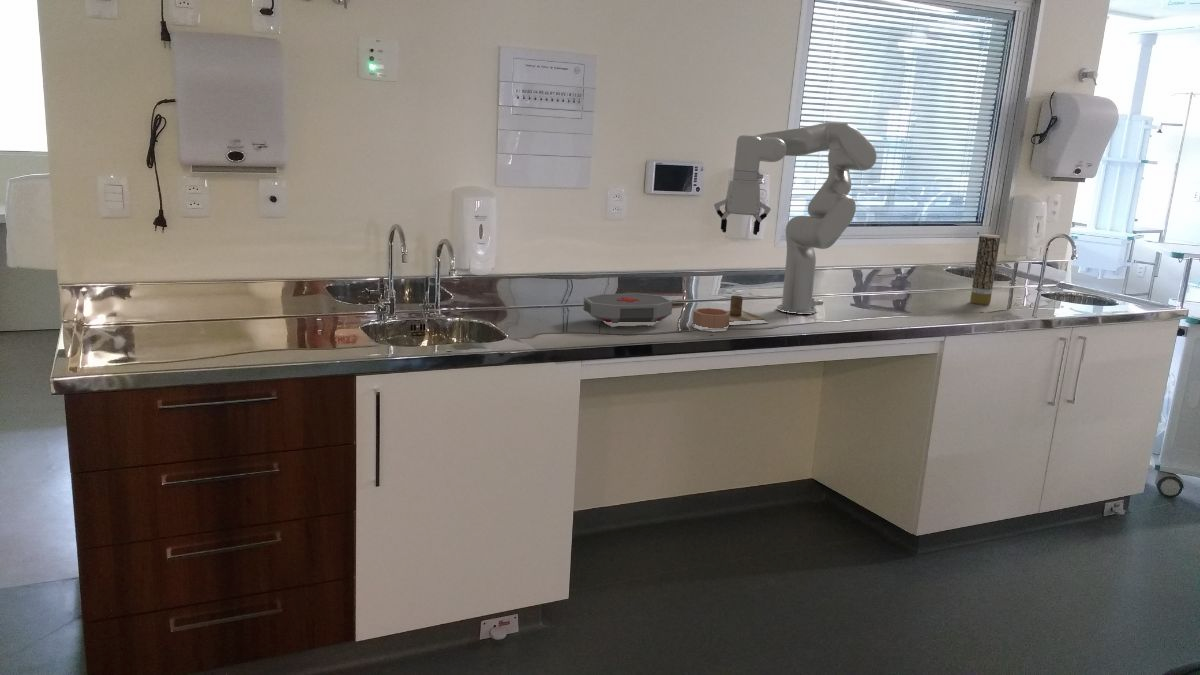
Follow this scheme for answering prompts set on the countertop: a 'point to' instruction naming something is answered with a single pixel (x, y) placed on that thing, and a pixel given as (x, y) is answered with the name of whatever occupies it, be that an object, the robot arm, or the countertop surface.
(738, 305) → the cover
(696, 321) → the bowl
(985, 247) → the bark textured cylinder
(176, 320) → the countertop surface
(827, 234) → the robot arm
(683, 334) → the countertop surface
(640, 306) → the first aid kit
